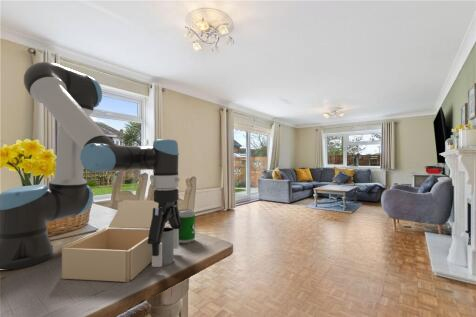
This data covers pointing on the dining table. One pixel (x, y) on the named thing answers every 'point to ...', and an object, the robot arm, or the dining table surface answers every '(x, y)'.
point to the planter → (167, 246)
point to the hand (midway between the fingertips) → (166, 256)
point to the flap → (134, 214)
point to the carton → (107, 255)
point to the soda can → (186, 226)
